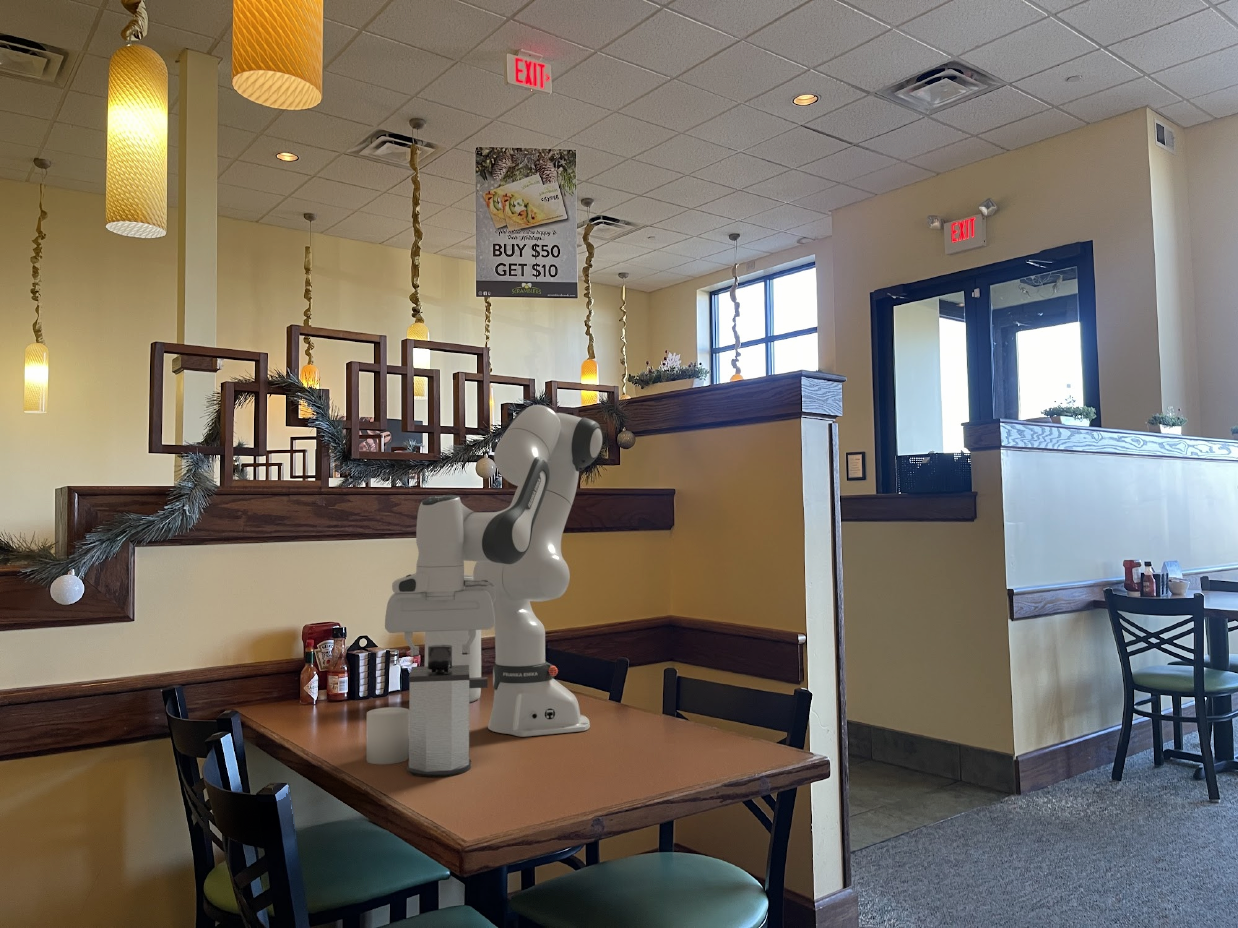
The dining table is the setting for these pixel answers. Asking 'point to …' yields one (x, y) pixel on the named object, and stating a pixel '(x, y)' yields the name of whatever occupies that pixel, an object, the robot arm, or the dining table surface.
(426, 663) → the vase
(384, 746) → the diner mug
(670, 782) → the dining table surface
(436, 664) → the pump plunger
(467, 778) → the dining table surface
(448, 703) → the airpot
